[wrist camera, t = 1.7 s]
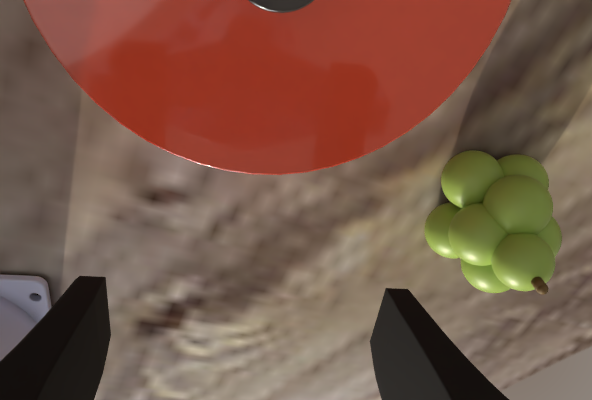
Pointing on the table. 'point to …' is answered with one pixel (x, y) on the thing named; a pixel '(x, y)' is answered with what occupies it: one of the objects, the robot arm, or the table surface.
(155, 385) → the table surface
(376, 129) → the pot lid
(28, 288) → the robot arm
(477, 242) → the grapes
